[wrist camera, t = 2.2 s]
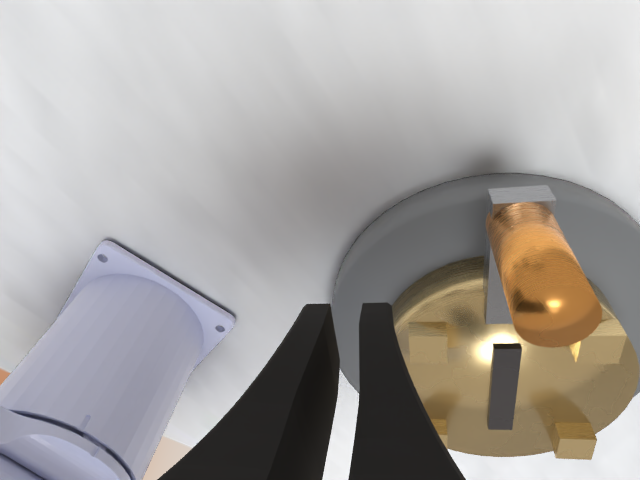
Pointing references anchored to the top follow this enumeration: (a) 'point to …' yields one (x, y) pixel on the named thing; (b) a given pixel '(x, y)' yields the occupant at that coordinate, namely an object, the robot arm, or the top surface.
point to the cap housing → (480, 250)
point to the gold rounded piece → (516, 340)
